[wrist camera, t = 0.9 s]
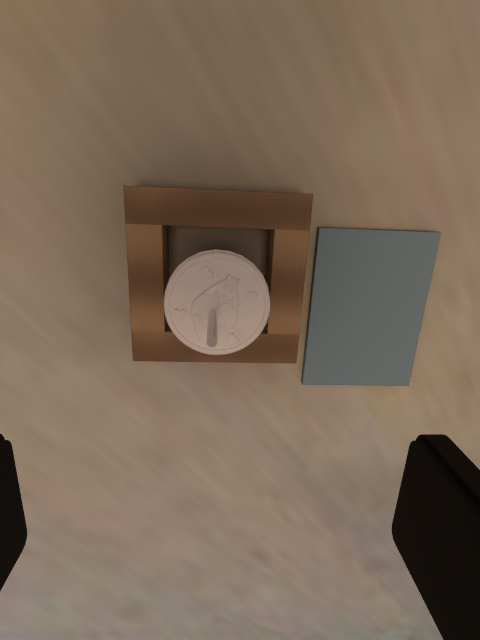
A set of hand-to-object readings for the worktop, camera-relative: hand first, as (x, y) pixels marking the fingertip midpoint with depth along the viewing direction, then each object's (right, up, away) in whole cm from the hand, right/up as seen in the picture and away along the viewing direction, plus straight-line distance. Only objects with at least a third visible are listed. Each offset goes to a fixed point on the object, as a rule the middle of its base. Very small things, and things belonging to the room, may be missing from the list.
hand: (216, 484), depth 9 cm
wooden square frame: (-1, +8, +22) cm, 24 cm away
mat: (+12, +5, +24) cm, 27 cm away
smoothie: (-1, +8, +22) cm, 24 cm away
